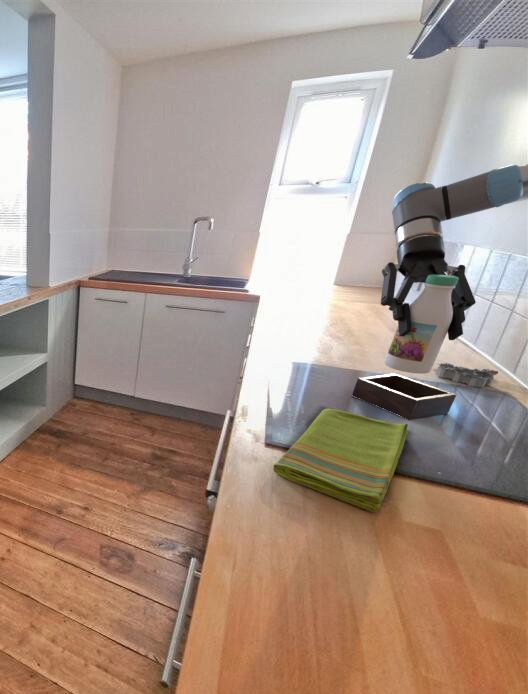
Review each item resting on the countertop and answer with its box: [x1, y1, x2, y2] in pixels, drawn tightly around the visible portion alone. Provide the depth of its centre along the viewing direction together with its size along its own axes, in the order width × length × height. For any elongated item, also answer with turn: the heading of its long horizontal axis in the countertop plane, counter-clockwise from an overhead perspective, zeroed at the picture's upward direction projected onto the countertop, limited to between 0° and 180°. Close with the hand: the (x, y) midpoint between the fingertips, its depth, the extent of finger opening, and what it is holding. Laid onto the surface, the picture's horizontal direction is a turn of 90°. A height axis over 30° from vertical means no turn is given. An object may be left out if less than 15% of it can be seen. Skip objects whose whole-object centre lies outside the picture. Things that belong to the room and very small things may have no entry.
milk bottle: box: [384, 274, 459, 375], centre depth 87 cm, size 8×8×20 cm
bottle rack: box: [351, 373, 457, 421], centre depth 100 cm, size 13×12×5 cm
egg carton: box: [435, 362, 499, 389], centre depth 115 cm, size 11×8×4 cm
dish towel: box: [272, 407, 409, 513], centre depth 80 cm, size 15×36×3 cm, turn 133°
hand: (430, 335), depth 84 cm, fingers closed on milk bottle, 8 cm apart
